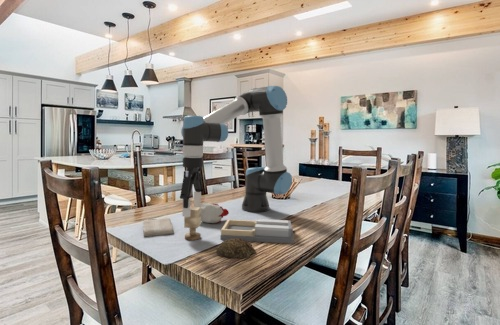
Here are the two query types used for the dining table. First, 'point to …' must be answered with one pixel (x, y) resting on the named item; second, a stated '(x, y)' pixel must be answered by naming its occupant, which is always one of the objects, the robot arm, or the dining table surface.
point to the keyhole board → (259, 230)
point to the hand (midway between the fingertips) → (192, 211)
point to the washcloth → (157, 227)
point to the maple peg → (193, 223)
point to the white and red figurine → (212, 213)
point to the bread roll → (235, 249)
